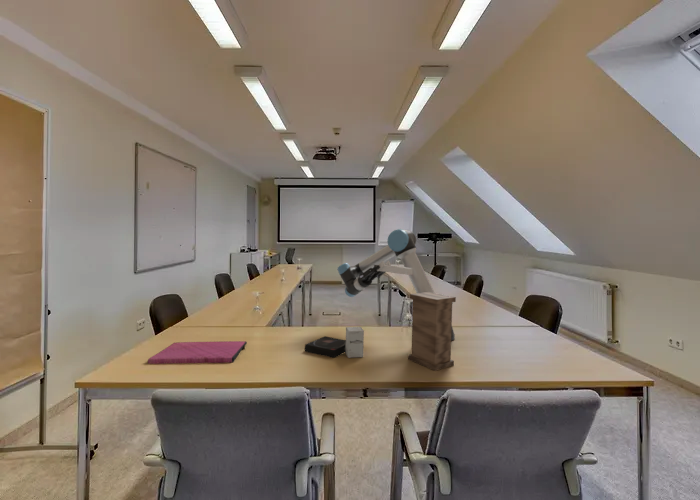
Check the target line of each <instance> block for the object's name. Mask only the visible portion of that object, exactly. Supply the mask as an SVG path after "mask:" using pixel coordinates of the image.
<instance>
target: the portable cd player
mask: <svg viewBox="0 0 700 500" xmlns="http://www.w3.org/2000/svg"><path fill="white" fill-rule="evenodd" d="M345 349H346V339H341V338H336V337H331V336H326V335H324V336H323V337H319V338H318V339H315V340H313V341H310V342H308V343H305V345H304V352H305V353H309V354H314V355H319V356H323V357H327V358H331V359H335V358H338V357H339V356H341V355H343V354H344V352H345ZM342 353H343V354H342Z"/></svg>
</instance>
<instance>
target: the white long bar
mask: <svg viewBox="0 0 700 500" xmlns="http://www.w3.org/2000/svg"><path fill="white" fill-rule="evenodd" d="M376 266H377V265H374V267H376ZM376 271H377V270H376ZM379 271H383V272H385V273H391V274H399V275H406V276H407V275H412V268H406V267H404V266H398V265H397V266H396V265H391V266H387V265H385V266H384V267H383V268H382V269H381V270H379Z"/></svg>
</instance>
